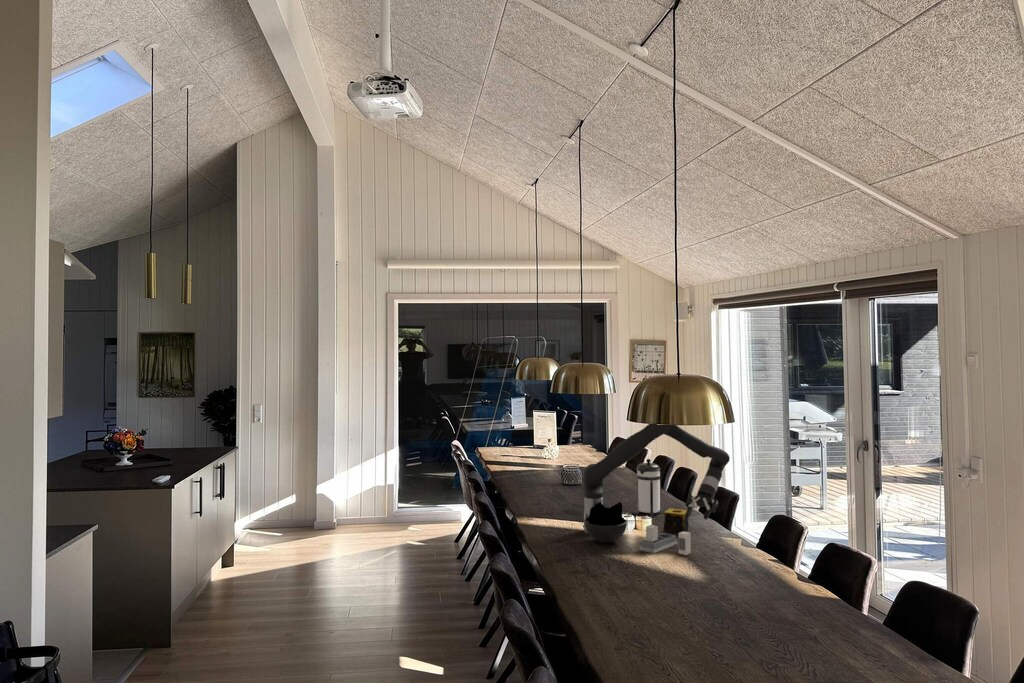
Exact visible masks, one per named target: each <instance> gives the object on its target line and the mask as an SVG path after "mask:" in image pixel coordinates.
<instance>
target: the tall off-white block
mask: <svg viewBox="0 0 1024 683" xmlns="http://www.w3.org/2000/svg"><path fill="white" fill-rule="evenodd" d="M691 535H692V534H691V532H688V531H687V532H684V531H683V532H680V533H679V534H678V554H679V555H684V556H687V555H689V554H691V553H692V552H691V548H692V547H691V545H692V544H691V541H692V540H691V538H692V536H691Z"/></svg>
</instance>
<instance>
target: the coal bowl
mask: <svg viewBox="0 0 1024 683" xmlns="http://www.w3.org/2000/svg"><path fill="white" fill-rule="evenodd" d="M584 524H585V528H586V530H587V532H588V533H587V534H588V535H589V536H590V538H593V540H595V541H596V542H599V543H603V544H604V543H605V544H609V543H613V542H615V541H617V540H619V539H620V538H622V536H623V535H624V533H625V532H626V529H627V526H628V521H627V519H625V518H623V504H622V502H621V501H619V502H617V503H615V504H613V505H612V506H610V507H606V506H604V503H603V504H601V502H599V503H597V504H595V506H594V507H592V508H591V509H590V515H589V517H588V518H586V519H585V520H584V519H583V525H584Z"/></svg>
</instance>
